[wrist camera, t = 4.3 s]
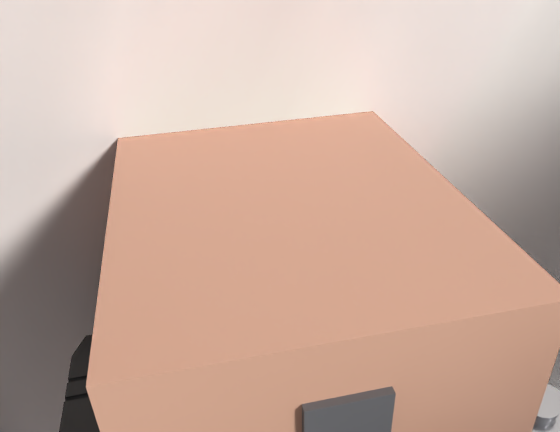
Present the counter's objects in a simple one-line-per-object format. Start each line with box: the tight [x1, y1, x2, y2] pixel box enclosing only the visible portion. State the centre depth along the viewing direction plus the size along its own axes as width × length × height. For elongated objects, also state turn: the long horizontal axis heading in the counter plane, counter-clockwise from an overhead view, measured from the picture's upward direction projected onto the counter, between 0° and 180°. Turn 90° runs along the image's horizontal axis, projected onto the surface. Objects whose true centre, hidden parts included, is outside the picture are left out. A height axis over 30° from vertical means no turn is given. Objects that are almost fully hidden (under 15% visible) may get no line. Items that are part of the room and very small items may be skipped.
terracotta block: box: [86, 111, 560, 432], centre depth 10 cm, size 5×8×6 cm, turn 2°
